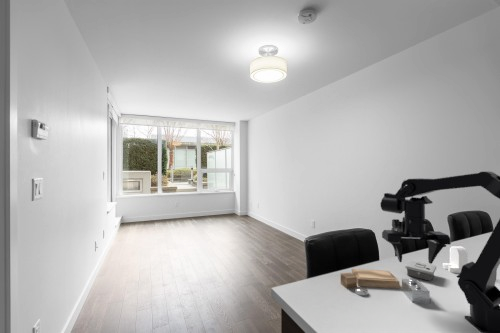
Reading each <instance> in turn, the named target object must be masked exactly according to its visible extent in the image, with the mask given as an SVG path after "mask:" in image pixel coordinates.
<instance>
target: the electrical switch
mask: <svg viewBox="0 0 500 333" xmlns="http://www.w3.org/2000/svg"><path fill="white" fill-rule="evenodd" d="M404 268H405V269H406V271H407V273H406V275H407V276H410V277H413V278H417V279H421V280H424V281H425V280H426V281H430V282H431V281H432V279H433V278H434V276H435V275H434V274H435V272H436V271H437V265H435V264H430V263H426V262H421V261H417V260H412V259H409V260H408V261H407V262H406V264H405V265H404Z"/></svg>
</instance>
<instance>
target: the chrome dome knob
mask: <svg viewBox="0 0 500 333" xmlns="http://www.w3.org/2000/svg"><path fill="white" fill-rule="evenodd" d="M368 292H369V291H368V289H367V288H365V287H364V286H357V287H356V288H354V293H355V294H356V295H358V296H361V297H366V296H368Z"/></svg>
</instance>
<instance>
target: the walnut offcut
mask: <svg viewBox="0 0 500 333" xmlns="http://www.w3.org/2000/svg"><path fill="white" fill-rule="evenodd" d="M340 285H341V286H343V287H344V288H345V289H347V290H348V289H355V288H356V287H358V284H357V277H356V276H354V275H353V274H352V272H341V273H340Z"/></svg>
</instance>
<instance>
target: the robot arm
mask: <svg viewBox="0 0 500 333" xmlns="http://www.w3.org/2000/svg"><path fill="white" fill-rule="evenodd" d="M473 187H482V188H483V189H485V190H486V191H487V192H488V193H491V195H493V196H494V197H496V198H497V199H499V200H500V175H499V174H497V173H496V172H493V171H491V170H490V171H489V170H488V171H478V172H476V173H469V174H462V175H453V176H445V177H438V178H420V177H419V178H405V179H404V180H403V181H402V183H401V186H400V188H399V189H398V190H397V191H396V193H390V192H386V193H383V197H382V199H381V200H380V209H381V210H382V211H383V212H388V213H394V214H399V215H400V214H403V212H404V216H403V217H402V221H401V220H400V219H395V218H394V219H391V225H392V229H383V231H382V232H381V238H382V239H383V240H385V241H386V242H388V243H389V244H390V245H392V247H393V249H394V251H395V255H396V256H397V260H398V262H399V263H402V262H403V261H402V260H403V243H401V241H402V240H413V241H414V240H415V241H419V240H420V241H427V242H426V243H427V246H428V252H427V253H428V254H427V255H428V256H427V257H428V258H427V259H428V264H431V265H433V262H434V261H435V259H436V258H437V256H438V254H440V252H441V251H442V249H444V248H447V245H451V244H452V243H451V242H452V241H451V240H452V239H451V237H450V235H448V234H446V233H443V232H442V231H433V230H432V231H429V230H428V232H427V233H426V225H428V220H426V205H430V204H433V203H434V202H433V201H432V200H431V199H430V198H429V197H428V196H426V194H430V193H434V192H437V191H442V190H452V189H453V190H454V189H464V188H473ZM423 195H425V196H423ZM416 196H421V197H416ZM407 198H409V199H407ZM394 229H395V230H394ZM396 230H397V231H396ZM499 266H500V218H499V219H498V221H497V222H496V224H495V227H494V228H493V230H492V232H491V233H490V235H489V237H488V239H487V241H486V243H485V245H484V246H483V248H482V250H481V252H480V253H479V255H478V258H477V259H476V261H475V262H474V261H470V262H468V263H467V264H465V265H463V267H462V269H461V273H458V274H457V275H456V278H457V285H458V287H459V289H460V290H461V291H462V292H463V294H464V296H465V299H466V302H467V304H468V305H469V315H464V319H465V320H466V321H468V322H469V323H470V324H471V325H472V326H474V327H475V328H476V329H477V330H478V331H480V332H481V333H500V289H499V288H498V287H497V286H496V285H495V284H496V282H497V275H498V274H497V270H498V268H499Z"/></svg>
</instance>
